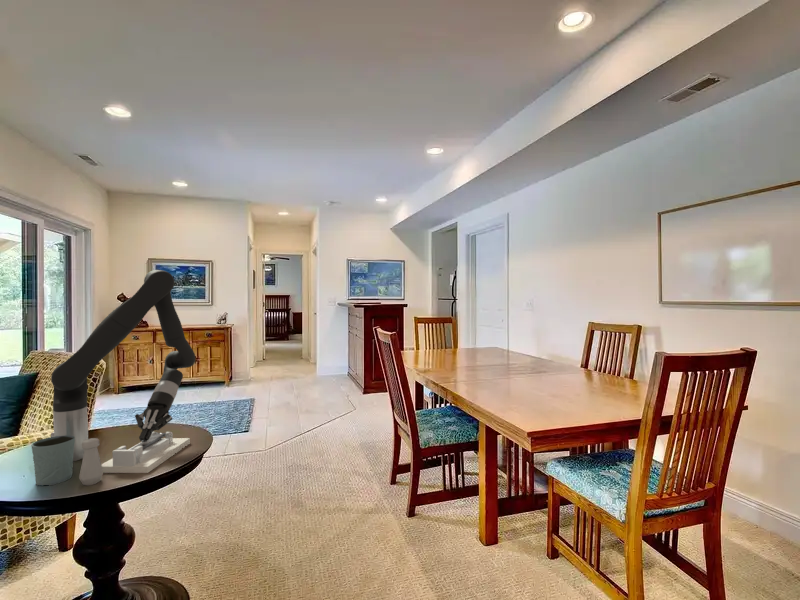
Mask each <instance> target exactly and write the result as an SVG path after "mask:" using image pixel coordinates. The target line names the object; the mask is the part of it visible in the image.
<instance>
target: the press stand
mask: <svg viewBox="0 0 800 600" xmlns="http://www.w3.org/2000/svg"><path fill="white" fill-rule="evenodd" d="M157 433H158V432H157V431H153V432H152V434H151V436H150V437H152V436H153V435H155V434H157ZM165 433H166V434H165V436H164V437H163V438H161V439H160V440H158V441H156V442H155V443H153V444H152V445H150V446H148V447H147V448H145V449H144V450H143V446H137V445H138V444H140V443H142V442H141V441H140V442H138V443H137V444H135V445H134V446H132V447H130V448H128V449H127V445H121V446H120V447H117V448H116V449H114V450H112V458H110V459H108V460H107V461H105V462H103V463H101V465H102V470H103V474H105V473H106V474H108V473H109V474H111V473H112V474H115V473H116V474H119V473H121V474H123V473H124V474H148V473H149V472H151V471H153V470H154V469H156V468H157V467H158V466H160V465H161V464H162V463H164V462H165V461H167V460H168V459H169V458H171V457H173V456H174V455H176V454H177V453H178V452H180V451H181V450H183V449H184V448H186V447H187V446H188V445H190V443H191V439H190V438H189V437H184V438H183V437H181V438H180V437H179V438H178V437H173V435H174V434H173V431H165ZM135 446H137V447H136V448H134V449H133V450H130V449H131V448H133V447H135ZM185 446H186V447H185ZM182 448H183V449H182ZM175 453H176V454H175Z"/></svg>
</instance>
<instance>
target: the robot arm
mask: <svg viewBox="0 0 800 600" xmlns="http://www.w3.org/2000/svg"><path fill="white" fill-rule="evenodd" d="M174 286H175V279H174V277H173V275H172V274H171V273H170V272H168V271H166V270H161V269H154V270H151V271H149V272H147V274H146V275H145V276H144V278H143V284H142V285H141V286H140V288H139V289H138V290H137V291H136V292H135V293H134V294H133V295H132V296H131V297H130V298H128V299H127V300H126V301H124V302H123V303H121V304H120V305H118V306H117V307H116V308H115V309H113V310H112V311H111V312H110V313H108V315H107V316H106V317H105V318H104V319H103V320H102V321H100V323H99V324H98V325H97V326H96V327H95V329H94V330H93V331H92V332H91V334H90V335H89V336H88V337H87V339H85V341H84V343H83V345H81V347H80V348H79V349H78V350H77V351H76V352H74V353H73V355H72V356H70V357H69V358H68V359H67V360H66V361H64V362H60V364H58V365H57V366H56V367H55V368H54V370H53V371H52V373H51V375H50V377H51V378H50V381H51V384H52V386H53V401H52V414H53V416H52V417H53V419H52V420H53V432H51V433H50V437H55V436H63V435H71V436H74V437H75V442H74V450H73V451H74V453H73V462H77V461H79V460H83V455H84V449H82V442H83V441H84V440H87V439H89V423H88V422H89V418H88V376H90V374H91V373H92V371H93V370H94V369H95V368H96V366H97V365H98V364H99V363H100V362H101V360H103V359H104V358H105V357H106V356H108V354H109V353H111V352H112V351H114V349H115V348H117V346H118V345H120V344H121V343H122V342H123V340H125V339H126V338H127V337H128V335H130V333H132V331H133V330H134V329H135V328H136V327H137V326H138V325H139V324H140V322H141V321H142V320H143V319H144V318H145V316H146V315H147V314H148V312H150V311H151V309H152V308H153V307H155V310H156V314H157V318H158V321H159V324H160V329H161V332H162V336H163V339H164V340H163V341H164V342H165V345H166V347H170V348H174V349H176V350H173V351H170V352H169V353H168V354H166V357H165V359H164V366H163V372H162V373H163V374H162V375H161V377H160V379H159V381H158V383H157V385H156V386H155V388H154V390H153V391H152V394H151V395H150V398H149V400H148V401H147V406H146V408H145V409H144V410H143V412H142V413H140V414H138V413H136V414H135V415H134V417H135V420H136V423H137V426H138V427H139V429H140V430H141V432H140V435H139V436H138V438H139V441H140V442H147V440H149V438H150V436H151V434H152V432H155V431H159V430H161V429H162V428H163V427H165V426H166V425H167V424H168V423H170V422H171V421H172V420H173V417H172V416H171V415H170V414H169V413H170V412H169V411H170V410H171V407H172V405H173V404H174V400H175V398H176V396H177V395H178V391H179V388H180V386H181V383H182V381H183V378H184V375H183V373H182V371H181V370H178V369H187V368H191V367H193V366H194V364H195V363H196V354H195V351H194V350H193V348H192V347H191V345H190V343H189V342H188V340H187V339H186V336H185V332H184V329H183V328H184V327H183V326H182V322H181V320H180V317H179V315H178V312H177V311H176V308H175V306H174V302H173V299H172V293H171V292H172V290H173V288H174Z"/></svg>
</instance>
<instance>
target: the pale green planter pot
mask: <svg viewBox="0 0 800 600" xmlns="http://www.w3.org/2000/svg"><path fill="white" fill-rule="evenodd" d="M74 442H75V437H74V436H71V435H63V436H55V437H51V436H50V437H45V438H43V439H39V440H37V441H33V443H32V444H31V446H30V447H31V451H32V453H31V454H32V459H33V460H32V461H33V464H34V465H33V466H34V477H35V484H36V486H38V485H49V486H53V485H58V484H61V483H64V482H67V481H68V480H70V479H71V478H72V477H73V468H74V467H73V465H74V464H73V463H74V461H73V453H74V451H73V450H74Z"/></svg>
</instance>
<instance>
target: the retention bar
mask: <svg viewBox="0 0 800 600" xmlns="http://www.w3.org/2000/svg"><path fill="white" fill-rule="evenodd" d="M165 434H166V432H157V434H155V435H153V436H152V437H150V438H149V440H147V442H142V443H140V442H139V443H140V444H138V443H137V444H138V445H137V444H136V445H137V446H143V450H144V449H145V448H147V447H148V446H150V445H152V444H153V443H155V442H156V441H158V440H160V439H161V438H165ZM134 446H135V445H134ZM137 446H135V447H133V446H132V447H133V448H131V447H130V448H131V449H130V448H129V449H130V450H133V449H134V448H136V447H137Z"/></svg>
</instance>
